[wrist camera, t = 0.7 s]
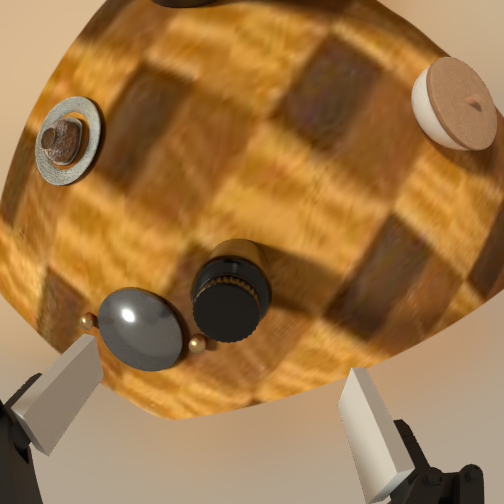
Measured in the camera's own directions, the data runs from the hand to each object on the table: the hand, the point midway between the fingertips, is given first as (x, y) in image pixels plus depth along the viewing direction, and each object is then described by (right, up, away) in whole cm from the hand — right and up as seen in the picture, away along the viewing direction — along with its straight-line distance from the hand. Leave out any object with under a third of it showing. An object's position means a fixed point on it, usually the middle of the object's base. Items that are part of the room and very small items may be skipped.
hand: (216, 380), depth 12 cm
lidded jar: (+24, +24, +13) cm, 36 cm away
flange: (-13, -4, +20) cm, 24 cm away
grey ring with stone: (-22, +21, +15) cm, 34 cm away
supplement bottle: (0, +5, +18) cm, 19 cm away
